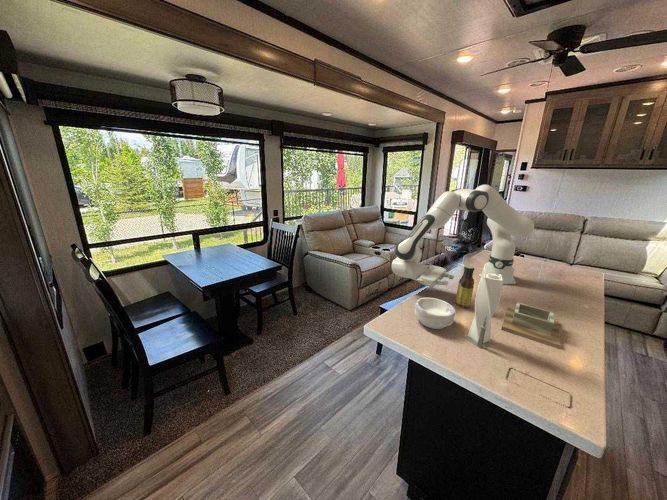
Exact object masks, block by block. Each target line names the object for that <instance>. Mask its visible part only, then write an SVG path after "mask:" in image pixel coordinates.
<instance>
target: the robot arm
mask: <svg viewBox="0 0 667 500" xmlns="http://www.w3.org/2000/svg"><path fill="white" fill-rule="evenodd" d="M457 210H460V211H464V212H471V213H478V212H481V211H482V212H483V214H485V216H486V217H487V218H486V219H487V220H486V225H487V226H488V228H489V230H490V233H491V237H492V238H491V239H492V246H491V252H490V255H489V257H488V262H486V263H484V267H485V268H486V274H488V273H494V274H496V275H498V276H499V274H501V276H502V278H503V285H516V284H517V282H516V279H515V277H514V275H515V269H514V267H513V264H514V256H515V252H516V247H517V246H516V243H515V242H514V241H513V239H512V237H519V238H521V237H522V238H525V237H529V236H530V235H531V234H532V233H533V232H534V230H535V223H534V221H533V219H531V218H529V217H527V216H525V215H524V214H522V213H520V211H518V210H516V209H515V208H514V207H512V206H511V205H510V204H509V203H508V202H507V201H506V200H505V199H504V198H503V196H502V195H501V194H500V193H499V191H498V190H496V189H495V188H493V187H492V186H490V185H489V184H481V185H478V186H477V187H476V188H475V189H472V188H455V189H453V190H451V191H450V190H447V191H444V192H443V193H442V194H440V195H439V197H437V199H436V200H435V201H434V202H433V204H432V205H431V206H430V208H429V209H428V211H427V212H426V214H425V215H424V216H422V218H421V219H419V220H418V222H417V223H416V224H415V226H414V227H413V228H412V229H411V230H410V232H409V233H408V234H407V235H406V236H405V237H404V238H402V239H401V240H399V241H398V242H397V243H396V245H395V248H394V253H395V255H396V258H394V259H393V260H392V262H391V271H392V273H393V274H395V275H396V276H400V277H401V278H406V279H411V280H413V281H416V282H419V284H421V285H422V286H426V287H429V288H435V286H446V287H447V286H448V285H449V281H447V280H443V279H444V278H447V279H449V280H453V279H454V277H455V275H453V274H450V273H448V272H447V269H446V268H444V267H441V266H438V265H432V263H420V261H421V259H422V256H423V252H422V249H421V248H420V247H419V246H418V244H419V242H420V241H421V240H422V239H423V237H425V235H426V234H427V233H428V232H429V231H430V230H435V229H441V228H443V227H445V225H446V224H447V223H448V222H449V221H450V220H451V218H452V216H453V215H454V214H455V212H456V211H457ZM482 273H483V271H482V272H480V273H479V274H478V276H479V277H480V278H481V276H482ZM484 273H485V271H484ZM500 278H501V277H500Z"/></svg>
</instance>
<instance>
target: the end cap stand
mask: <svg viewBox="0 0 667 500" xmlns="http://www.w3.org/2000/svg"><path fill="white" fill-rule="evenodd" d="M506 308H507V309H506V312H505V315H504V319H503V322H502V325H501V331H503V332H505V333H506V332H507V333H511V334H513V335H516V336H519V337H522V338H526V339H528V340H531V341H534V342H537V343H541V344H544V345H546V346H549V347H552V348H556V349H559V350H560V348H561V346H562V343H561V334H560V323H559V319H556V318H555V316H554V314H555V313H554V311H552V310H547V309H543V308H540V307H536V306H533V305H532V306H531V305H529V304H525V303H521V302H518V301H517V302H516V305H515V307H513V306H511V305H510V306H509V305H508V306H507V307H506Z"/></svg>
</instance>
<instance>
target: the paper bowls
mask: <svg viewBox="0 0 667 500" xmlns="http://www.w3.org/2000/svg"><path fill="white" fill-rule="evenodd" d="M414 315H415V317H416V318H417V320H419V322H420V323H421V324H422V325H424V326H426V327H427V328H430V329H434V330H435V329H436V330H437V329H438V330H441V329H444V328H445V327H449V326H451V325H452V324H453V323H454V320H455V315H456V309H455V307H454V306H453V305H452V304H450V303H449V302H447V301H445V300H443V299H440V298H435V297H421V298H418V299H417V300H416V301H415V306H414Z"/></svg>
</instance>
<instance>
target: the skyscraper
mask: <svg viewBox="0 0 667 500" xmlns="http://www.w3.org/2000/svg"><path fill="white" fill-rule="evenodd" d="M484 271H485V273H484ZM482 272H483V273H482ZM482 272H481V273H482V276H481V277H480V278H479V279H480V280H479V283H478V286H477V289H476V295H475V299H474V317H473V319H472V322H471V325H470V329H469V330H468V334H467V335H466V336H464V339H466V340H467V341H468V342H470V343H472V344H473V345H474V346H475V347H477V348H479V349H483V348H487V347H490V346H492V345H494V342H492V341H491V333H492V332H491V331H492V317H493V316H494V314H495V312H496V311H497V308H498V306H499V304H500V300H501V297H502V292H503V285H504V284H503V278H502V276H501V274H499V276H498V275H496V274H494V273H488V274H486V268H485V267H482ZM500 277H501V278H500Z"/></svg>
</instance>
